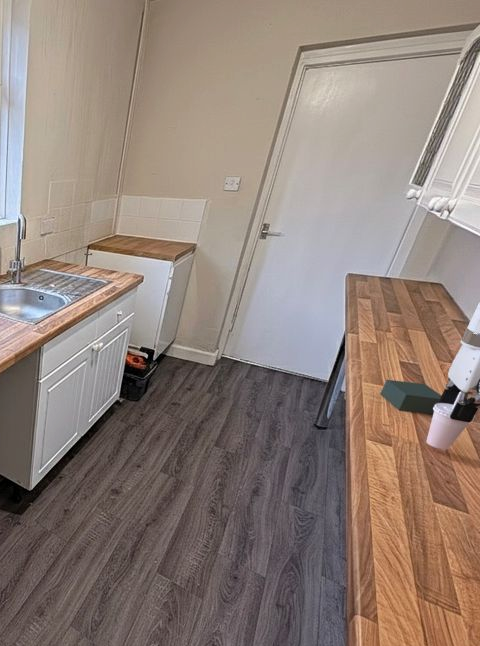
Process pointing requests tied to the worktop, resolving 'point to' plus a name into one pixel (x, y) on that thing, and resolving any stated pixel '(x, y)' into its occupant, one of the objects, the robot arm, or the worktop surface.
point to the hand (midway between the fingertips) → (453, 412)
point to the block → (410, 396)
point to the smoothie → (445, 426)
